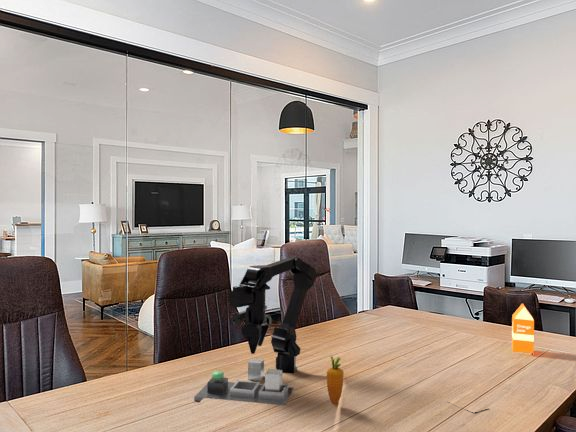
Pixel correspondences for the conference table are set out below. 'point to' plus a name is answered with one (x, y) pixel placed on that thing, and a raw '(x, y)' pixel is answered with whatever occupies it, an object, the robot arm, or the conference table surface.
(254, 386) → the dark grey fixture board
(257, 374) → the aluminium block
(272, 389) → the block
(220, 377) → the button
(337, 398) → the carrot
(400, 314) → the conference table surface
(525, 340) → the orange juice
